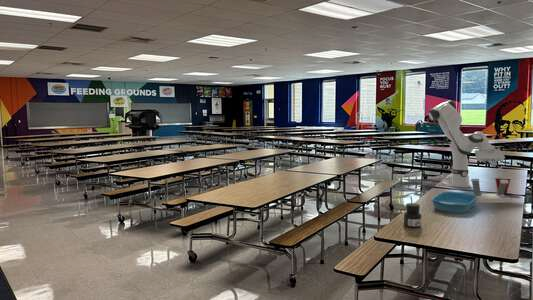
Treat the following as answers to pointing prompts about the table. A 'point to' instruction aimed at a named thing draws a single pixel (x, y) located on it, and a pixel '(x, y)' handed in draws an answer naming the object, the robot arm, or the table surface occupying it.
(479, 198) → the switch panel
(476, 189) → the lever
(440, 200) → the casserole dish
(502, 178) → the plastic cup
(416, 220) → the ink bottle
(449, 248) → the table surface
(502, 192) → the lever
